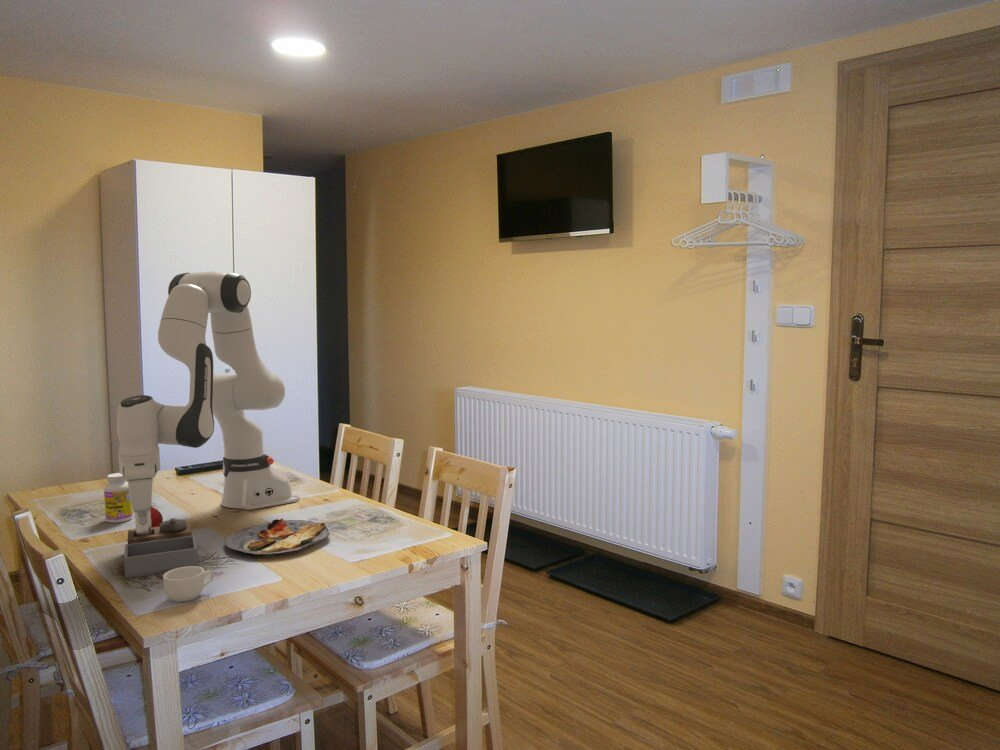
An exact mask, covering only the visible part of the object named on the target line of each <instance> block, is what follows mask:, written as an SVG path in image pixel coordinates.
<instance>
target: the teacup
mask: <svg viewBox="0 0 1000 750" xmlns="http://www.w3.org/2000/svg"><path fill="white" fill-rule="evenodd" d="M208 574H210V575H211V578H210V579H209V580H207V581H206V582H205V578H206V576H207V575H208ZM162 578H163V587H164V591H165V594H166V595H167V597H168V598H169V599H170V600H171V601H174V602H176V603H185V602H190V601H193V600H195V599H197V597H199V596H200V595H201V594H202V591H203V590H204V587H205V586H207V585H209V584H210V583H211V582H212V581H213V580H214V578H215V574H214V572H213V571H212V570H205V569H204V567H202V566H199V565H198V566H186V567H180V568H176V569H172V570H170V571H168V572H165V573H163V576H162Z"/></svg>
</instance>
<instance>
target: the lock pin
mask: <svg viewBox="0 0 1000 750" xmlns="http://www.w3.org/2000/svg"><path fill="white" fill-rule="evenodd" d="M134 519H135V530H136V537H139V536H147V535H152V528H151V511H150V510H149V511H147V523H146V524H139V517H138V512H134Z"/></svg>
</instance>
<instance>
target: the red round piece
mask: <svg viewBox="0 0 1000 750" xmlns="http://www.w3.org/2000/svg"><path fill="white" fill-rule="evenodd" d="M150 511H151V528H152V527H160V523H162V522H164V521H163V520H164V517H163V515H162V513H161V512H160V511H159V510H158V509H157V508H154V506H153V505H152V504H151V509H150Z"/></svg>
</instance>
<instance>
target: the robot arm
mask: <svg viewBox="0 0 1000 750" xmlns="http://www.w3.org/2000/svg"><path fill="white" fill-rule="evenodd" d="M251 291H252V290H251V285H250V282H249V281H248V280H247V278H246V277H245V276H244V275H243V274H239V273H235V272H231V271H230V272H222V271H221V272H220V271H201V272H192V273H191V272H183V273H180V274H176V275H175V276H174V277H173V278H172V279H171V280H170V282H169V284H168V289H167V294H168V296H167V299H166V302H165V304H164V307H163V309H162V310H163V311H162V313H161V318H160V321H159V327H158V331H157V340H158V341H157V342H158V344H159V346H160V348H161V349H162V351H163V353H164V354H166V355H167V356H169V357H170V358H172V359H174V360H176V361H179V362H180V363H182V364H184V365H185V366H186V367H187V369H188V370H189V395H188V396H189V397H188V398H189V399H188V403H187V404H186V405H185V406H183V405H181V406H179V405H170V404H169V405H168V404H167V405H165V404H162V403H160V402H158V401H156V400H154V397H152V396H151V395H146V394H145V395H144V394H140V395H134V396H133V395H132V396H129V397H127V398H124V399H122V400H121V401H120V402H119V405H118V408H117V414H116V433H117V435H116V436H117V439H118V441H119V449H118V464H119V465H118V468H119V473H120V474H122V475H123V476H124V478H125V480H126V482H128V487H129V493H130V498H131V504H132V512H134V513H135V512H138V517H139V524H146V523H147V511H149V510H150V509H151V505H152V501H153V500H152V497H153V485H154V479H155V478H156V475H157V473H158V471H161V455H160V454H161V453H160V446H159V445H160V444H161V445H169V446H170V445H171V446H173V445H174V446H181V447H188V448H195V449H198V448H200V447H202V446H204V444H206V443H207V442H208V441H209V440H210V439H211V437H212V436H213V434H214V430H215V420H214V418H215V419H216V420H217V422H218V424H219V426H220V427H219V428H220V430H221V434H222V441H223V454H224V456H223V457H222V472H223V476H224V482H223V492H222V498H221V500H220V505H221V506H223V507H224V508H231V509H241V510H246V511H250V510H256V509H261V508H268V507H273V506H279V505H286V504H291V503H295V502H298V501H299V500H300V494H299V492H297V491H296V489H295V490H294V489H292V484H291V481H290V480H289V477H287V475H285V473H283V472H281V471H279V470H278V469H276V468H275V467H273V466H272V465H273V464H274V463H275V460H274V458H273V457H272V456H270V455H268V454H266V453H264V439H263V438H264V436H263V431H262V429H261V427H260V425H258V424H257V423H256V422H253V421H252V420H250V419H249V418H248V417H247V415H246V413H245V412H244V411H265V410H270V409H275V408H278V407H279V406H280V405H281V404H282V403H283V401H284V400H285V399H284V398H285V395H286V389H285V384H284V382H283V381H282V379H281V378H280V377H279V376H278V375H276V374H275V373H273V372H272V371H271V370H270V369H269V368H268V367H267V366H266V365H265V364H264V363H263V360H261V357H260V356H259V354H258V351H257V347H256V343H255V337H254V336H255V335H254V329H253V323H252V318H251V313H250V309H249V306H248V305H249V303H250V301H251V298H252V292H251ZM209 314H210V325H211V326H210V327H211V333H212V340H213V348H214V354H215V356H216V358H218V360H219V361H221V362H222V363H224V364H226V365H228V366H229V367H230V368H232V370H233V371H234V372H219V373H214V357H213V352H212V349H211V348H210V346H208V345H207V341H206V332H207V326H208V321H209V320H208V318H209Z"/></svg>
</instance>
